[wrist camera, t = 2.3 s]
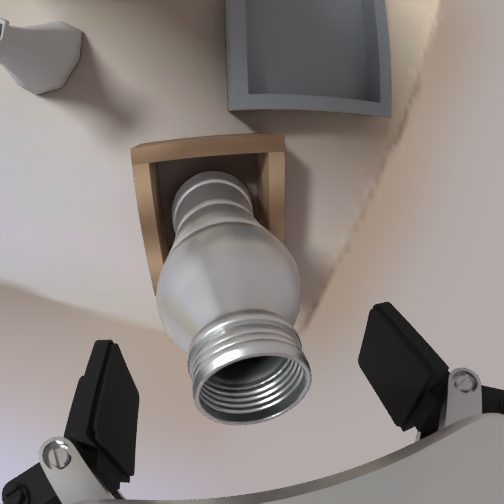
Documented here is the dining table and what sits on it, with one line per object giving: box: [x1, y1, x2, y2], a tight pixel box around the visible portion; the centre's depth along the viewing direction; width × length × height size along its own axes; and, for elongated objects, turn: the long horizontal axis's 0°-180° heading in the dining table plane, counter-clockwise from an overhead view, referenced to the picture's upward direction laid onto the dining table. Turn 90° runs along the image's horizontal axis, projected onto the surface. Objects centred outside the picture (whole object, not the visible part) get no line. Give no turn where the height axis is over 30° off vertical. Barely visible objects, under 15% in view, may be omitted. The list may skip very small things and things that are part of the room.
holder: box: [131, 133, 285, 296], centre depth 24 cm, size 12×11×4 cm
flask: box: [0, 18, 82, 95], centre depth 12 cm, size 7×7×10 cm
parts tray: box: [225, 0, 391, 117], centre depth 18 cm, size 18×14×3 cm
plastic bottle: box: [156, 171, 312, 425], centre depth 17 cm, size 6×7×20 cm
